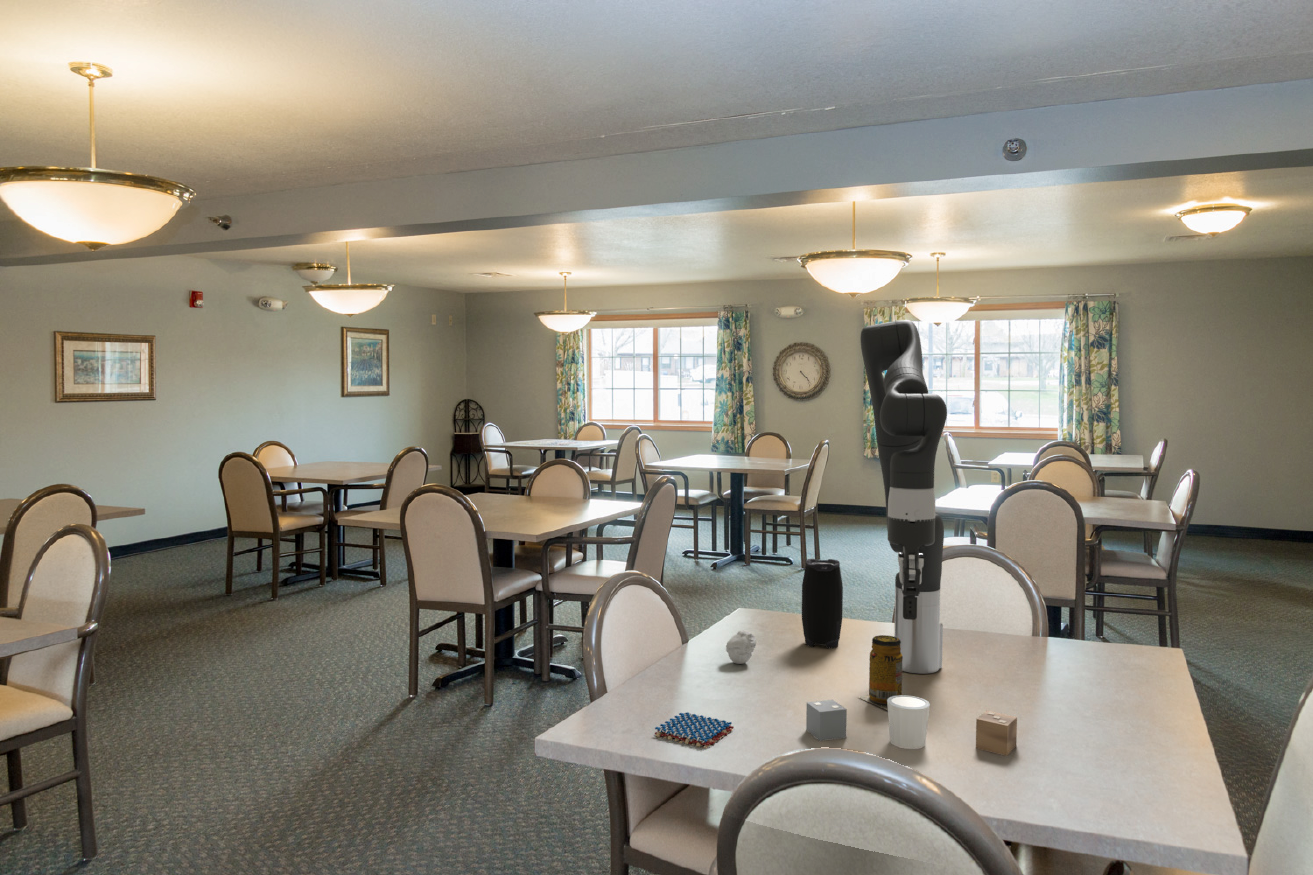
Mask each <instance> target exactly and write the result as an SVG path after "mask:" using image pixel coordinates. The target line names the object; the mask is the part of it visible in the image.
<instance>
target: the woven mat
mask: <svg viewBox="0 0 1313 875" xmlns="http://www.w3.org/2000/svg"><path fill="white" fill-rule="evenodd" d="M732 724H733V722H732V721H727V720H724V719H723V720H722V719H718V718H713V717H711V716H708V717H707V716H704V715H702V714H701V715H699V714H695V713H693V714H692V713H691V712H688V711H687V712H685V713H683V712H678V715H674V718H672V717H670V718H669V721H667V720H666V721H665V722H664V723H660V724H659V726H656V727H654V730H656V731H655V732H654V735H655V737H657V738H661V737H662V738H663V739H665V738H666V739H667V740H668V741H672V740H674V741H675V742H678V741H679V742H678V744H683V743H684V744H685V745H690V744H691V746H695V745H696V747H697V748H700V747H702V746H703V747H702V748H703V749H707V748H709V747H710V746H711V745H714V744H715V743H716V742H718V741H719V740H721V739H722V738H723V737H724V736H727V735H729V733H730V732H732V731H733V730H734V726H732ZM673 738H674V739H673ZM708 746H709V747H708Z"/></svg>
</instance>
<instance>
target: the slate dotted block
mask: <svg viewBox="0 0 1313 875" xmlns="http://www.w3.org/2000/svg"><path fill="white" fill-rule="evenodd" d="M847 712H848V709H847V708H846V707H845V706H843V705H842V704H840V703H838V701H836V700H834V699H826V700H816V701H807V702H806V716H805V717H806V722H805V723H806V724H805V727H806V728H805V731H806V732H808V733H809V734H810V733H811V736H813V737H814V738H815V739H817V740H818V741H819V742H821V741H831V740H839V739H846V738H847V725H848V724H847V721H848V720H847V715H848V714H847Z"/></svg>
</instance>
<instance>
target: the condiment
mask: <svg viewBox="0 0 1313 875" xmlns="http://www.w3.org/2000/svg"><path fill="white" fill-rule="evenodd" d="M900 644H901V641H900V639H899V638H897V637H894V636H892V635H884V634H883V635H881V634H880V635H875V636H873V637H872V639H871V648H872V649H871V650H870V652H869V670H868V671H869V674H868V675H869V677H868V679H869V680H868V695H860V696H858V698H859V699H861V700H863V701H865V702H867V703H870V704H872V705H875V706H877V707H879V708H881V709H884V710H886V711H888V705H887V700H888V698H889V697H892V696H899V695H903V694H902V693H903V692H902V691H903V683H902V682H903V671H902V660H903V656H902V654H901V652H900V650H901V647H900Z"/></svg>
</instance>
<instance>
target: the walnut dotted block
mask: <svg viewBox="0 0 1313 875" xmlns="http://www.w3.org/2000/svg"><path fill="white" fill-rule="evenodd" d="M975 719H976V724H975V749H978V750H981V751H986V752H989V753H990V752H991V753H993V752H994V754H997V753H998V755H1001V754H1002V756H1007V757H1008V756H1009V755H1010V753H1011V752H1013V751H1014V749H1015V748H1016V747H1017V743H1018V742H1017V739H1018V738H1017V734H1018V716H1014V715H1010V714H1006V713H999V712H995V711H990V710H985V711H984V712H982V713H981V715H979V716H978V717H977V718H975Z"/></svg>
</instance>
